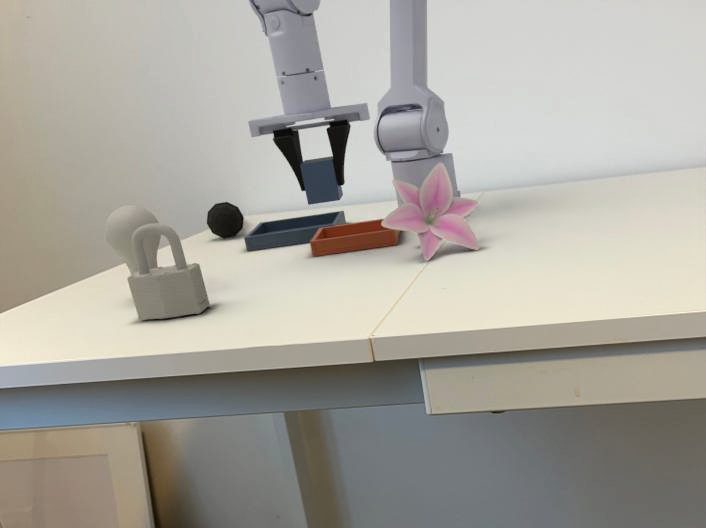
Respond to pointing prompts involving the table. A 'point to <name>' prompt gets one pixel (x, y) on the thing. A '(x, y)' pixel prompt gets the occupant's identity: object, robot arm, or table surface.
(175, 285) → the padlock
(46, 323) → the table surface
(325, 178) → the blue block
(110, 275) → the table surface
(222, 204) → the faceted black orb
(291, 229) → the slate tray
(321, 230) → the terracotta tray
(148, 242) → the lightbulb
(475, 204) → the lily
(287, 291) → the table surface
